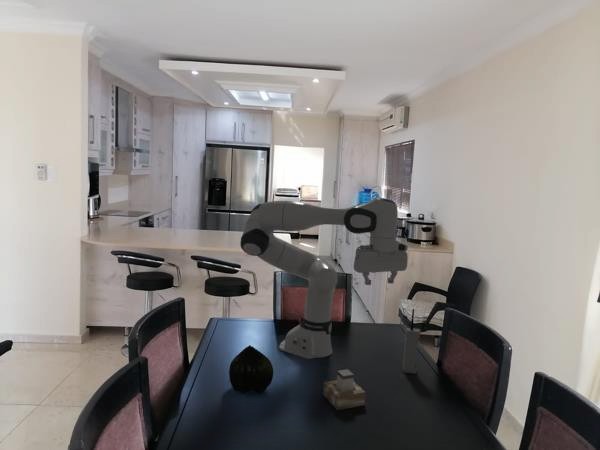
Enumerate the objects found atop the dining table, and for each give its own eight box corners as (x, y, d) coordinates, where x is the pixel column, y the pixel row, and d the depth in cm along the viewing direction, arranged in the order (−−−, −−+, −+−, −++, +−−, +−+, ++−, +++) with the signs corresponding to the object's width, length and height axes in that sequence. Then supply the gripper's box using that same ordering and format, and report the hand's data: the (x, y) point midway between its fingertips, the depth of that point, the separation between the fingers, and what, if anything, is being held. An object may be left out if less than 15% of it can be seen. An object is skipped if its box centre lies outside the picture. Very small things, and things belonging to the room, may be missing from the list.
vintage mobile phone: (416, 374, 164) (422, 311, 161) (403, 372, 165) (408, 309, 162) (415, 370, 167) (421, 308, 165) (402, 368, 168) (408, 306, 166)
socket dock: (323, 394, 144) (324, 382, 144) (348, 390, 148) (349, 378, 148) (337, 410, 135) (338, 396, 135) (364, 405, 139) (365, 391, 139)
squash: (259, 391, 134) (271, 345, 142) (216, 383, 138) (230, 339, 146) (271, 403, 145) (281, 359, 153) (231, 396, 149) (243, 354, 158)
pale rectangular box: (335, 394, 143) (337, 370, 142) (346, 393, 144) (347, 369, 143) (341, 400, 139) (343, 376, 138) (352, 399, 141) (353, 374, 140)
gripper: (361, 247, 141) (358, 287, 142) (411, 246, 149) (408, 284, 150) (351, 243, 146) (348, 283, 148) (400, 243, 155) (397, 280, 156)
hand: (379, 283), depth 149 cm, fingers open, 8 cm apart
